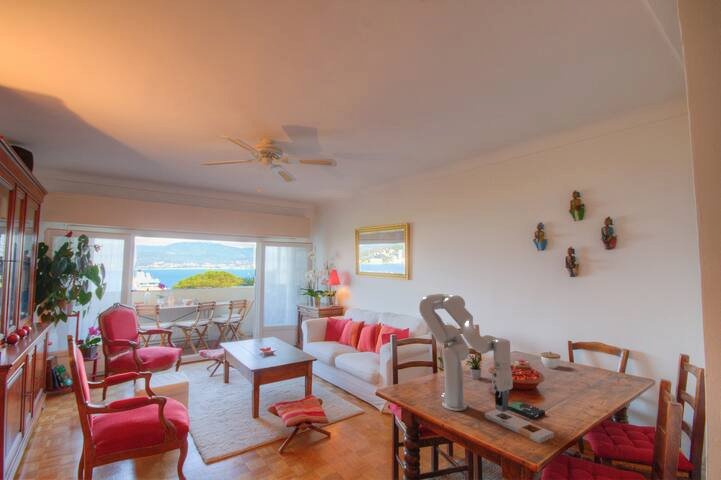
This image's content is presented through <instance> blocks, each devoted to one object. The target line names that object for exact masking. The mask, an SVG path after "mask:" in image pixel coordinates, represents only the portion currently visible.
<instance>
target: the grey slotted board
mask: <svg viewBox="0 0 721 480" xmlns="http://www.w3.org/2000/svg"><path fill="white" fill-rule="evenodd" d="M484 418H485V419H487V420H489V421H492V422H494V423H496V424H498V425H499V426H502V427H504V428H506V429H509V430H510V431H512V432H515V433H518V434H519V435H521V436H524V437H526V438H528V439H530V440H531V441H535V442H537V443H538V444H542V443H543V442H546V441H548V439H549V440H550V439H553V438H555V435H554V432H553V431H551V430H549V429H546V428H545V427H542V426H539V425H538V424H534V423H532V422H530V421H527V420H525V419H523V418H521V417H518V416H516V415H513V414H511V413H510V412H508V411H505V412H501V411H499V410H497V409H494V410H490V411H487V412H484ZM530 430H531V431H530Z"/></svg>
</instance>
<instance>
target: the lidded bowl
mask: <svg viewBox="0 0 721 480" xmlns="http://www.w3.org/2000/svg"><path fill="white" fill-rule="evenodd" d="M540 358H541V363H542V364H543V366H545V368H546V369H550V370H551V369H557V368H558V367H559V366H560V364H561V355H560V354H558V353H555V352H552V351H549V352H541V353H540Z"/></svg>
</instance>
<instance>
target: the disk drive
mask: <svg viewBox="0 0 721 480" xmlns="http://www.w3.org/2000/svg"><path fill="white" fill-rule="evenodd" d="M508 411H510V412H513V413H515V414H517V415H520V416H522V417H525V418H527V419H529V420H531V421H532V420H533V421H535V420H537V419H540V418H542V417H545V416H546V410H543V409H541V408H538V407H536V406H534V405H530V404H528V403H525V402H522V401H520V400H517V401H514V402H512V403H508Z"/></svg>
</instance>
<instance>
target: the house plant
mask: <svg viewBox="0 0 721 480" xmlns="http://www.w3.org/2000/svg"><path fill="white" fill-rule="evenodd" d="M468 357H469V360H466V361H465V362H466V363H467V366H468V367H469V370H470V376H471V379H472V380H480V379H481V374H482V373H481V372H482V368H481V367H482V365H481V361H482V360H483V359H484V357H482V358H481V356H480V354H478V352H476V353H475V354H474V355H473V354H472V355H470V354H469V356H468ZM470 366H471V367H470Z"/></svg>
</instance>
